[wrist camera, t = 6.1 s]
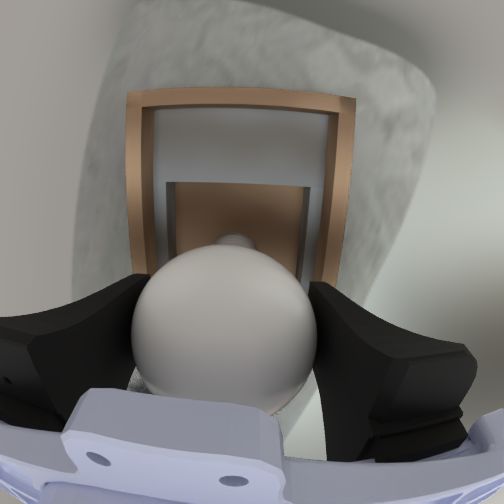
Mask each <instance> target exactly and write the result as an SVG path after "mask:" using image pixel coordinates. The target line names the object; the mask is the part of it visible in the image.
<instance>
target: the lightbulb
mask: <svg viewBox="0 0 504 504" xmlns="http://www.w3.org/2000/svg"><path fill="white" fill-rule="evenodd" d="M317 340H318V334H317V323H316V318H315V314H314V310H313V307H312V305H311V302H310V300H309V298H308V296H307V294H306V292H305V290H304V289H303V287H302V285H301V284H300V283H299V281H298V280H297V279H296V278H295V276H294V275H293V274H292V273H291V272H290V271H289V270H288V269H287V268H285V267H284V266H283V265H282V264H281V263H279V262H278V261H276V260H275V259H273V258H272V257H270V256H268V255H266V254H264V253H262V252H260V251H258V250H257V247H256V245H255V243H254V242H253V241H252V240H251V239H250V238H249V237H248V236H246V235H244V234H241V233H236V232H231V233H226V234H223V235H221V236H219V237H218V238H217V239H216V240H215V241H214V242H213V244H212V245H207V246H202V247H198V248H195V249H192V250H189V251H186V252H184V253H182V254H180V255H178V256H176V257H175V258H173V259H172V260H170V261H169V262H167V263H166V264H165V265H163V266H162V267H161V268H160V269H159V270H158V271H157V272H156V273H155V274H154V275H153V276H152V277H151V279H150V280H149V281H148V283H147V284H146V285H145V287H144V289H143V290H142V292H141V294H140V296H139V298H138V300H137V303H136V306H135V309H134V312H133V317H132V322H131V347H132V353H133V358H134V361H135V364H136V367H137V370H138V372H139V374H140V376H141V378H142V380H143V382H144V383H145V385H146V386H147V388H148V389H149V391H150V392H151V393H152V394H153V395H158V396H166V397H174V398H182V399H192V400H203V401H217V402H231V403H236V404H241V405H246V406H251V407H256V408H259V409H261V410H262V411H264V412H265V413H267V414H268V415H270V416H272V415H274V414H276V413H277V412H279V411H280V410H282V409H283V408H284V407H285V406H286V405H288V404H289V403H290V402H291V401H292V400H293V399H294V398H295V397H296V395H297V394H298V393H299V392H300V390H301V389H302V387H303V386H304V384H305V383H306V381H307V379H308V377H309V375H310V373H311V370H312V367H313V364H314V361H315V357H316V351H317Z"/></svg>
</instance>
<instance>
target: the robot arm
mask: <svg viewBox="0 0 504 504" xmlns="http://www.w3.org/2000/svg"><path fill="white" fill-rule="evenodd" d="M150 279H151V277H150V274H139V273H136V274H133V275H130V276H128V277H126V278H124V279H122V280H120V281H118V282H116V283H114V284H112V285H110V286H108V287H106V288H104V289H102V290H100V291H98V292H96V293H94V294H92V295H89V296H87V297H85V298H83V299H81V300H78V301H76V302H73V303H70V304H67V305H65V306H62V307H58V308H54V309H50V310H47V311H43V312H39V313H33V314H28V315H21V316H13V317H0V488H2V489H3V490H4V491H6V492H8V493H9V494H11V495H12V496H14V497H15V498H17V499H18V500H20V501H22V502H23V503H25V504H479V503H481V502H483V501H485V500H486V499H488V498H490V497H491V496H493V495H494V494H495V493H496V492H497V491H499V490H500V489H501V488H502V487H503V486H504V408H501V409H499V410H496V411H494V412H491V413H489V414H486V415H484V416H482V417H480V418H479V419H478V420H477V421H476V422H475V423H474V424H473V425H472V427H471V428H470V430H469V432H468V433H467V432H466V430H465V428H464V426H463V425H462V423H461V421H460V419H459V418H461V417H462V416H463V412H462V410H461V408H460V407H459V405H460V403H461V402H462V400H463V399H464V397H465V395H466V394H467V392H468V390H469V389H470V387H471V385H472V383H473V381H474V379H475V377H476V372H477V361H476V359H475V358H474V357H473V356H472V354H471V353H470V351H469V350H468V349H467V347H466V346H465V345H464V344H460V343H454V342H449V341H442V340H437V339H434V338H430V337H426V336H422V335H419V334H416V333H413V332H410V331H408V330H405V329H402V328H400V327H397V326H395V325H393V324H391V323H389V322H386V321H384V320H383V319H381V318H379V317H377V316H375V315H373V314H372V313H370V312H368V311H367V310H365V309H364V308H362V307H360V306H359V305H358V304H356V303H355V302H353V301H352V300H350V299H349V298H348V297H346V296H345V295H343V294H342V293H341V292H339V291H338V290H337V289H335V288H334V287H333V286H331V285H330V284H328V283H326V282H320V281H310V283H309V291H308V298H309V300H310V302H311V305H312V307H313V310H314V314H315V318H316V323H317V334H318V340H317V351H316V357H315V361H314V364H313V371H314V374H315V378H316V381H317V385H318V389H319V393H320V398H321V405H322V412H323V421H324V430H325V441H326V454H327V461H321V460H311V459H301V458H294V457H286V456H284V448H283V436H282V432H281V429H280V425H279V422H278V420H276V419H275V418H273V417H272V416H270V415H268V414H267V413H265V412H264V411H262V410H261V409H259V408H256V407H251V406H246V405H241V404H236V403H231V402H217V401H203V400H192V399H182V398H174V397H166V396H158V395H151V394H144V393H138V392H132V391H126V390H127V386H128V383H129V381H130V378H131V376H132V373H133V371H134V369H135V367H136V364H135V361H134V358H133V353H132V347H131V322H132V317H133V312H134V309H135V306H136V303H137V300H138V298H139V296H140V294H141V292H142V290H143V289H144V287H145V285H146V284H147V283H148V281H149V280H150Z"/></svg>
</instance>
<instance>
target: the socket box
mask: <svg viewBox="0 0 504 504" xmlns="http://www.w3.org/2000/svg"><path fill="white" fill-rule="evenodd" d="M355 110H356V98H350V97H343V96H337V95H330V94H322V93H314V92H306V91H296V90H284V89H270V88H251V87H189V88H169V89H156V90H144V91H135V92H127V106H126V191H127V210H128V225H129V238H130V249H131V258H132V267H133V274H136V273H139V274H150V277H152V276H153V275H154V274H155V273H156V272H157V271H158V270H159V269H160V268H161V267H162V266H163V265H165V264H166V263H167V262H169V261H170V260H172V259H173V258H175V257H176V256H178V255H180V254H182V253H184V252H186V251H189V250H192V249H195V248H198V247H202V246H207V245H212V244H213V242H214V241H215V240H216V239H217V238H218V237H219V236H221V235H223V234H226V233H231V232H236V233H241V234H244V235H246V236H248V237H249V238H250V239H251V240H252V241H253V242H254V243H255V245H256V247H257V250H258V251H260V252H262V253H264V254H266V255H268V256H270V257H272V258H273V259H275V260H276V261H278V262H279V263H281V264H282V265H283V266H284V267H285V268H287V269H288V270H289V271H290V272H291V273H292V274H293V275H294V276H295V278H296V279H297V280H298V281H299V283H300V284H301V285H302V287H303V289H304V290H305V292H306V294H307V296H308V291H309V283H310V281H320V282H326V283H328V284H330V285H331V286H333V287H334V288H335V287H336V282H337V276H338V270H339V264H340V257H341V251H342V244H343V237H344V230H345V222H346V214H347V206H348V198H349V188H350V179H351V168H352V157H353V144H354V129H355Z"/></svg>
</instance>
